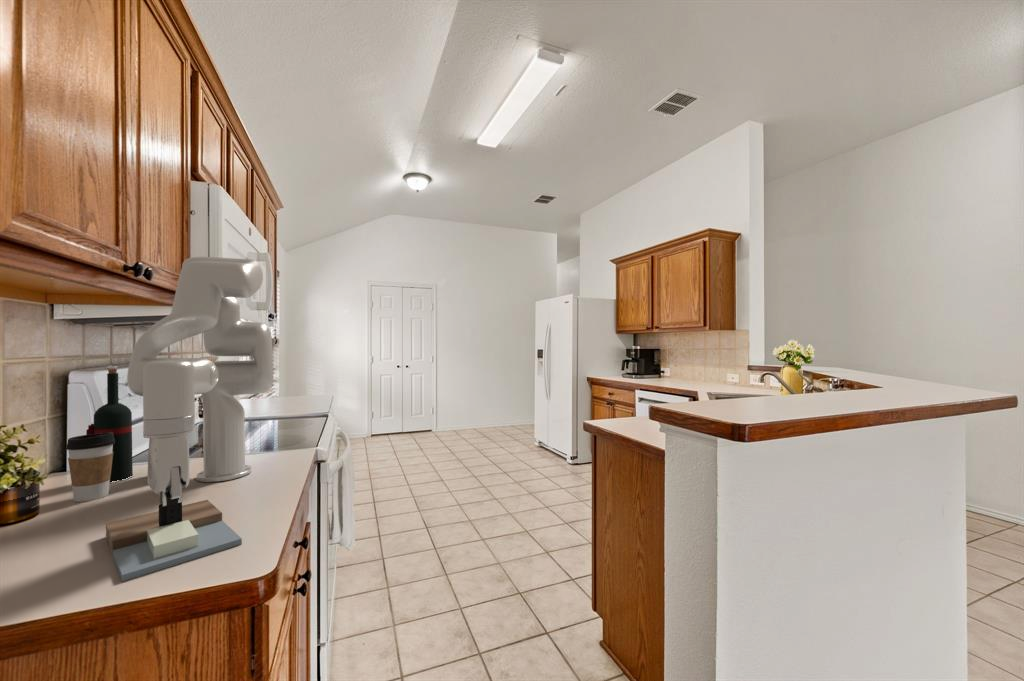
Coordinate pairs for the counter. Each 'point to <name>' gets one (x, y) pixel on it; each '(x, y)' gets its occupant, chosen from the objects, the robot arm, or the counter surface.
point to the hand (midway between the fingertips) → (170, 524)
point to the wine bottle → (115, 429)
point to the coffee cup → (90, 465)
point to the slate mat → (141, 560)
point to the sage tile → (172, 538)
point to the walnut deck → (157, 524)
